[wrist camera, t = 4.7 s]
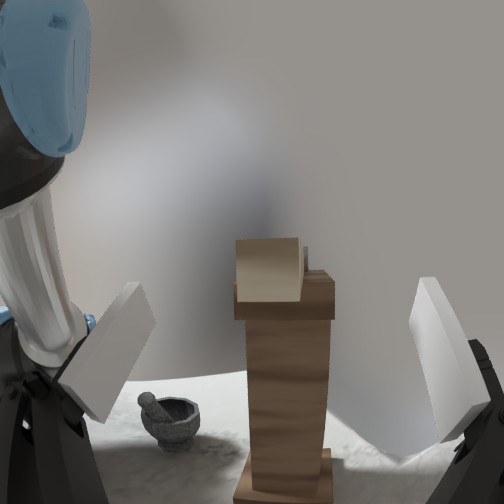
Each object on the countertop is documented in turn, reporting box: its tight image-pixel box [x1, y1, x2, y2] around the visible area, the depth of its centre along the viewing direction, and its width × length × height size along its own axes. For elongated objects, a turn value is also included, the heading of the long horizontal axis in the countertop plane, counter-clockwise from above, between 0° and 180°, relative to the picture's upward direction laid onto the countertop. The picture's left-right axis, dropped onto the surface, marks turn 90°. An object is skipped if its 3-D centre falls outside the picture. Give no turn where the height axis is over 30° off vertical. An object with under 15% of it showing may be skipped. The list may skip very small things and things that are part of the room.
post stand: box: [233, 270, 335, 504], centre depth 30 cm, size 16×12×29 cm
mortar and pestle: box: [138, 392, 200, 452], centre depth 40 cm, size 11×9×12 cm
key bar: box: [236, 238, 308, 302], centre depth 26 cm, size 24×4×3 cm, turn 169°
